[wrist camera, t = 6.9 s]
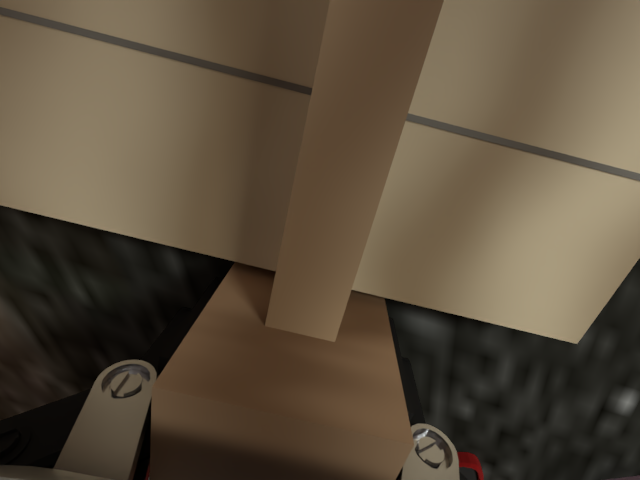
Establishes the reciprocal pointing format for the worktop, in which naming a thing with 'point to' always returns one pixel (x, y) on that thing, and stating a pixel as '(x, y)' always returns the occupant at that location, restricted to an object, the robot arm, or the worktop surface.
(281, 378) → the wooden hammer
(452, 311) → the board
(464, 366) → the worktop surface
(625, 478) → the box
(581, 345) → the worktop surface
